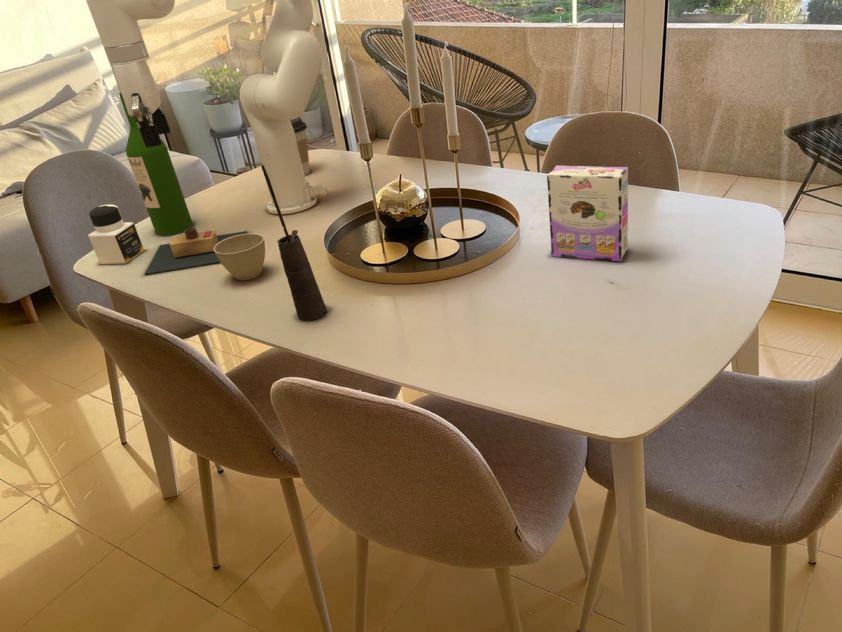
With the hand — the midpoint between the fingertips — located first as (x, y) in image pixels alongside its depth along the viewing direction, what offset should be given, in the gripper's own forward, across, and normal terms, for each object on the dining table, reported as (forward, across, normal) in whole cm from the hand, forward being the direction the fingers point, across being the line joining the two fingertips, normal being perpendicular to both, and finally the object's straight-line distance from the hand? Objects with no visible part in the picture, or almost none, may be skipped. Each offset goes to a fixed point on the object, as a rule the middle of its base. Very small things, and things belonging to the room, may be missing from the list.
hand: (158, 139), depth 147 cm
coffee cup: (+26, -44, +22) cm, 55 cm away
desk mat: (+24, +5, +1) cm, 25 cm away
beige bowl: (+25, +22, +14) cm, 36 cm away
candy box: (+25, +40, +80) cm, 94 cm away
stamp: (+24, +5, +1) cm, 25 cm away
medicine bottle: (+24, 0, -17) cm, 30 cm away
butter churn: (+25, +44, +27) cm, 57 cm away
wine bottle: (+25, -14, -8) cm, 29 cm away
